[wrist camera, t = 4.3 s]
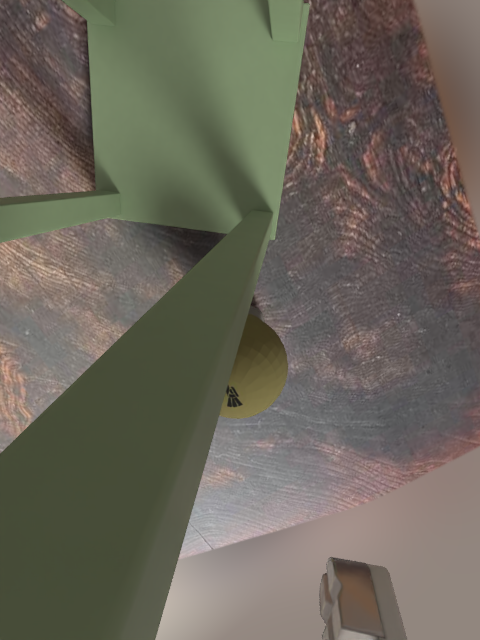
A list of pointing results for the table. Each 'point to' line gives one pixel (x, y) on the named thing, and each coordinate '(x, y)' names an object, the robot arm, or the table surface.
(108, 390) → the stand
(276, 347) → the light bulb
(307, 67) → the table surface
